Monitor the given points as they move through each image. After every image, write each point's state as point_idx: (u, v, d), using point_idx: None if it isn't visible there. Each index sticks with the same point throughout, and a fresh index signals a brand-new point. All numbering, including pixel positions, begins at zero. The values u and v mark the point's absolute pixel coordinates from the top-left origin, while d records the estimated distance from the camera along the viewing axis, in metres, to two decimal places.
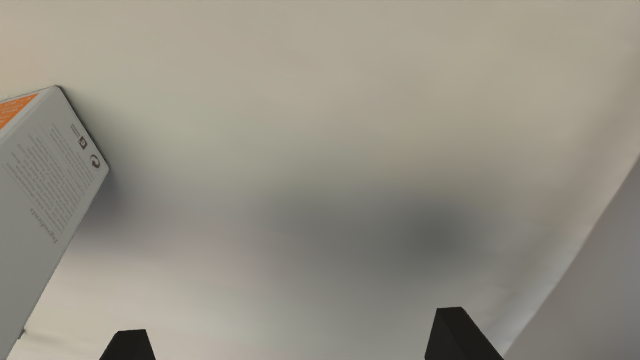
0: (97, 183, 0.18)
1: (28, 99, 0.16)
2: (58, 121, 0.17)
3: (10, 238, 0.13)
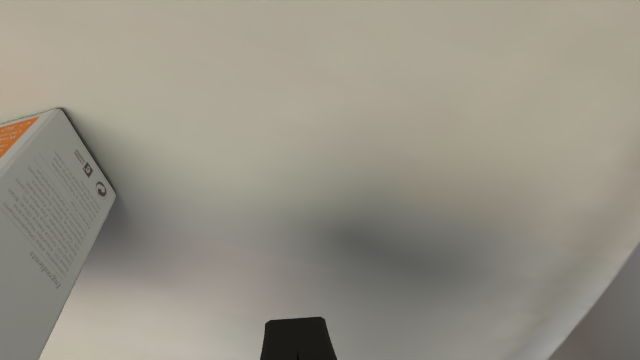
0: (104, 214, 0.17)
1: (28, 124, 0.15)
2: (61, 148, 0.15)
3: (6, 290, 0.11)
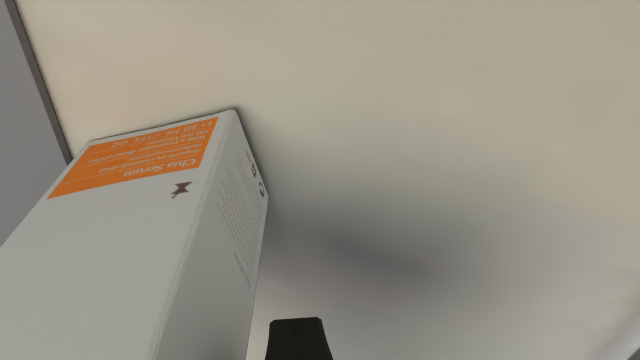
0: (265, 214, 0.17)
1: (210, 124, 0.15)
2: (239, 149, 0.15)
3: (226, 289, 0.12)
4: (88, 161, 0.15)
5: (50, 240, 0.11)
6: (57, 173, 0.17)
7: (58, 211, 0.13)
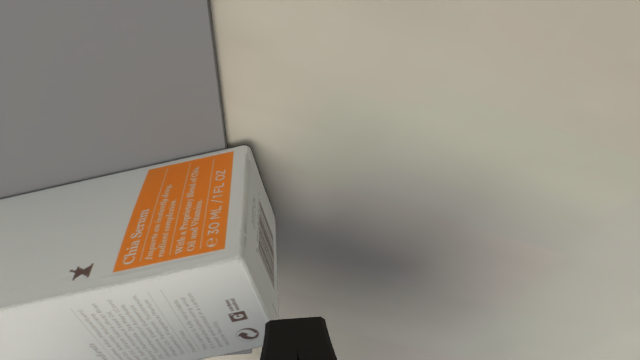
0: (233, 350, 0.14)
1: (207, 247, 0.12)
2: (203, 293, 0.12)
3: (47, 352, 0.13)
4: (198, 166, 0.16)
5: (77, 206, 0.15)
6: None
7: (119, 188, 0.15)
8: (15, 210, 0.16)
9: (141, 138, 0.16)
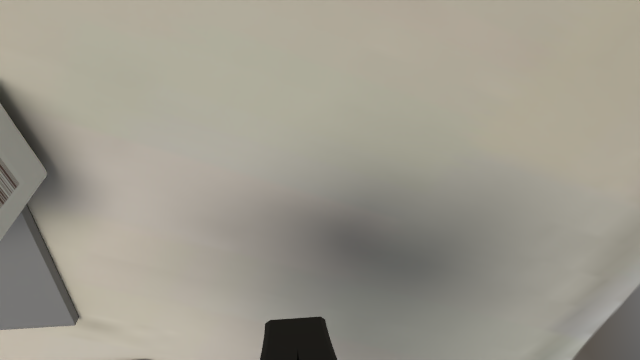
0: None
1: None
2: None
3: None
4: None
5: None
6: None
7: None
8: None
9: None
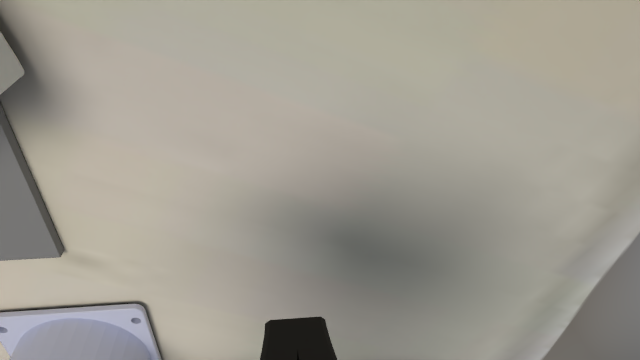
0: None
1: None
2: None
3: None
4: None
5: None
6: None
7: None
8: None
9: None
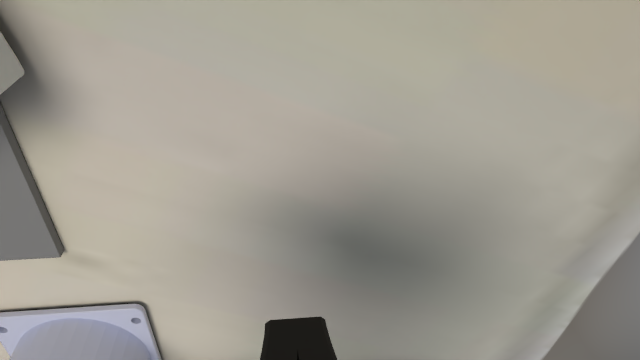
0: None
1: None
2: None
3: None
4: None
5: None
6: None
7: None
8: None
9: None
